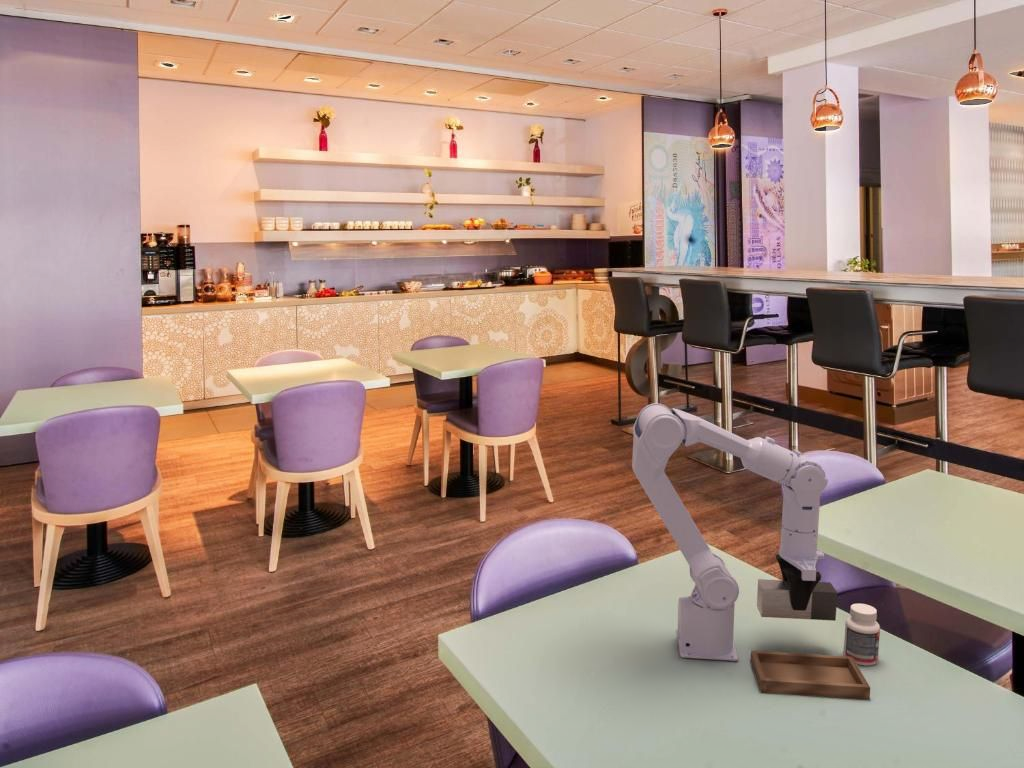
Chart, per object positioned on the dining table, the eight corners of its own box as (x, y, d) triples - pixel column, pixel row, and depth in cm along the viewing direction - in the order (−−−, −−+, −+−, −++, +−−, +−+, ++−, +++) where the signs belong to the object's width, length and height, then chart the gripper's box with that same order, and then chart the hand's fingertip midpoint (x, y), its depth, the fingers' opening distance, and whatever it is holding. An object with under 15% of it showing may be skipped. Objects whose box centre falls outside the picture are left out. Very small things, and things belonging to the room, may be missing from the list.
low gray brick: (761, 616, 125) (762, 589, 124) (756, 606, 128) (758, 579, 128) (835, 620, 123) (837, 592, 122) (828, 609, 127) (830, 582, 126)
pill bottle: (881, 668, 121) (885, 617, 119) (847, 665, 122) (851, 614, 120) (872, 651, 126) (876, 602, 124) (840, 648, 127) (843, 600, 125)
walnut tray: (760, 692, 114) (761, 680, 114) (750, 661, 123) (750, 650, 123) (869, 699, 112) (870, 687, 112) (851, 667, 121) (852, 656, 120)
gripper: (837, 544, 116) (832, 624, 118) (812, 513, 130) (808, 586, 132) (791, 542, 117) (787, 622, 119) (771, 512, 131) (767, 584, 133)
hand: (795, 603), depth 125 cm, fingers closed on low gray brick, 4 cm apart
